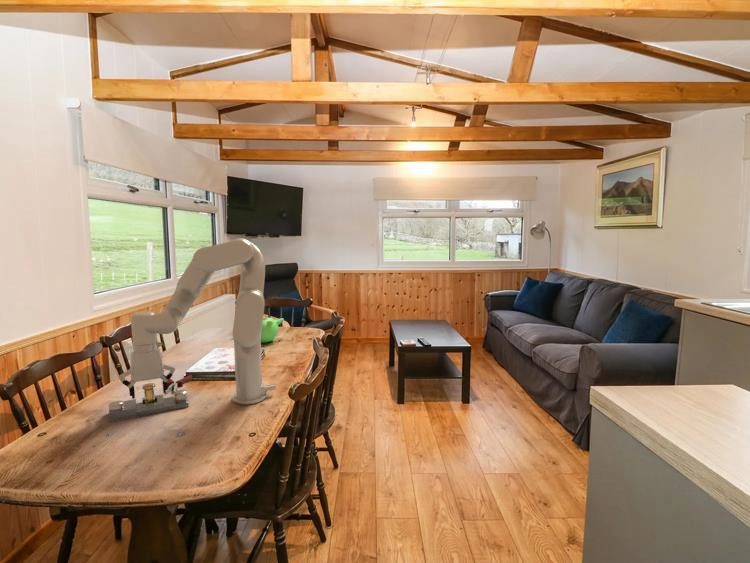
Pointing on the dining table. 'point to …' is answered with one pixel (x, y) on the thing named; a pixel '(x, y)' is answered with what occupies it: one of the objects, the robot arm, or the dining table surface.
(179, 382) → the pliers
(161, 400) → the grey notched rail
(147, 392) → the brass pin
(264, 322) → the green teapot
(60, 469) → the dining table surface
